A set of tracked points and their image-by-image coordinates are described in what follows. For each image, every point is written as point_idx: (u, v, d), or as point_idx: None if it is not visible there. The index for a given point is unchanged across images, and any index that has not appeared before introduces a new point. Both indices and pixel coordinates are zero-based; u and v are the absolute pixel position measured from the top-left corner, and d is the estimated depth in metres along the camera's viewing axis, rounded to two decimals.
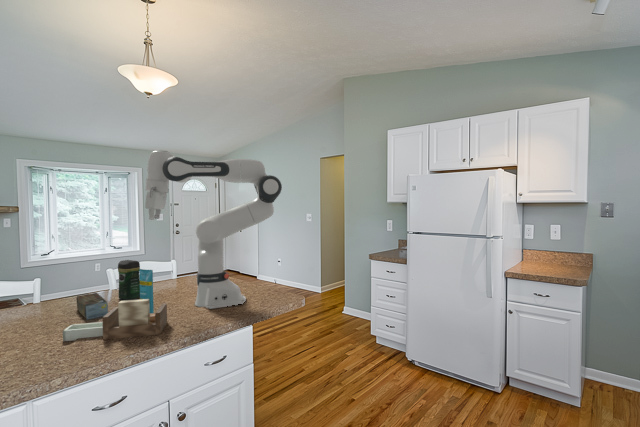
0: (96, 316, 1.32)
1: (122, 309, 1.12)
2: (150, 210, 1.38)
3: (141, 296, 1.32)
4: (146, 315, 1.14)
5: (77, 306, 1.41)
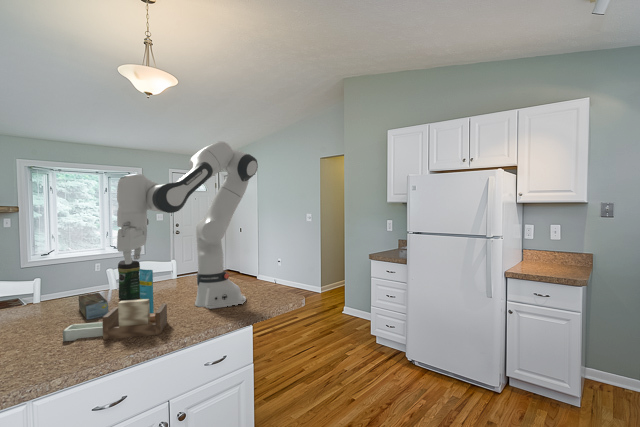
0: (96, 316, 1.32)
1: (122, 309, 1.12)
2: (125, 252, 1.07)
3: (141, 296, 1.32)
4: (146, 315, 1.14)
5: (79, 306, 1.42)
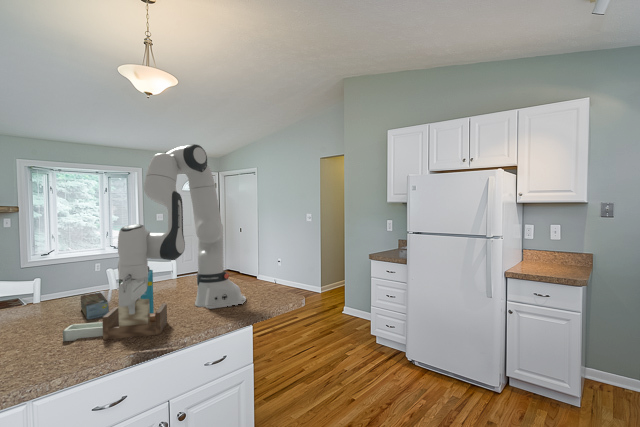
0: (97, 316, 1.32)
1: (122, 309, 1.12)
2: None
3: (141, 296, 1.32)
4: (146, 315, 1.14)
5: (81, 305, 1.42)
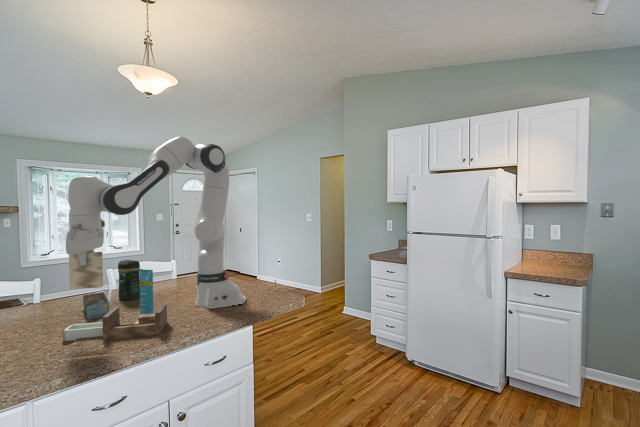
0: (97, 316, 1.32)
1: (73, 260, 1.11)
2: (79, 254, 1.09)
3: (141, 296, 1.32)
4: (98, 267, 1.13)
5: None
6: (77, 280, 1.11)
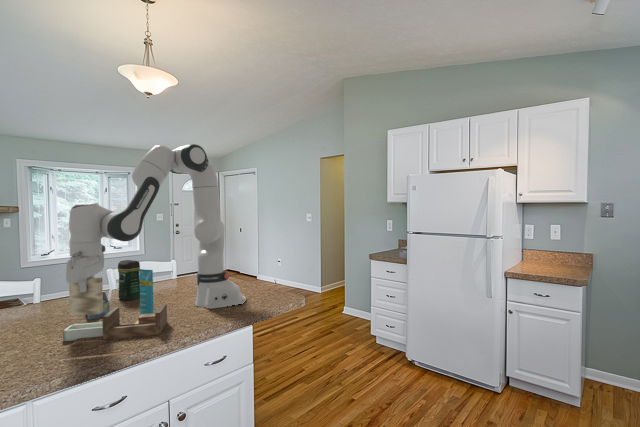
0: (97, 316, 1.32)
1: (73, 287, 1.11)
2: None
3: (141, 296, 1.32)
4: (98, 293, 1.13)
5: None
6: (77, 307, 1.12)
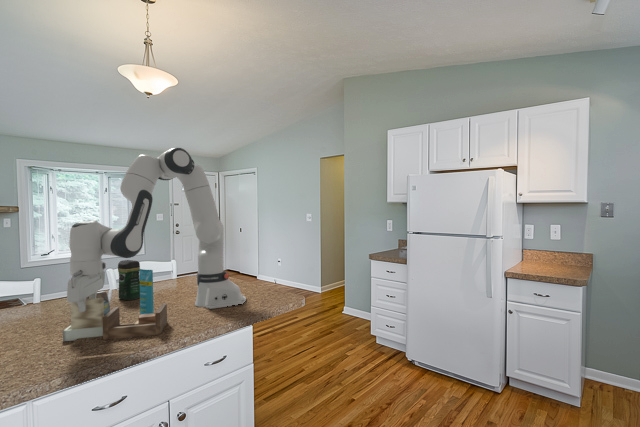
0: None
1: (74, 308, 1.11)
2: None
3: (141, 296, 1.32)
4: (100, 314, 1.13)
5: None
6: (78, 327, 1.12)
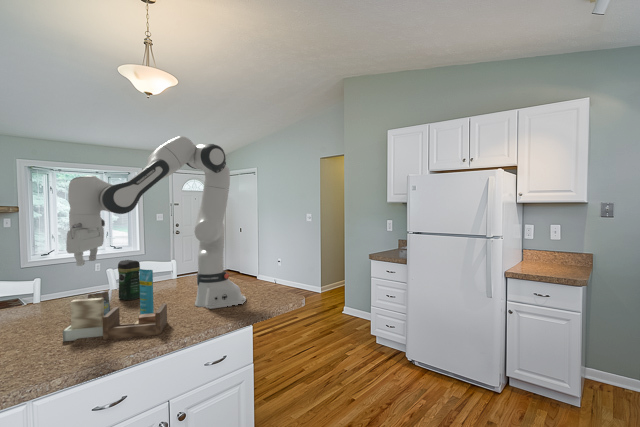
0: None
1: (74, 308, 1.11)
2: (76, 254, 1.07)
3: (141, 296, 1.32)
4: (100, 314, 1.13)
5: None
6: (78, 327, 1.12)
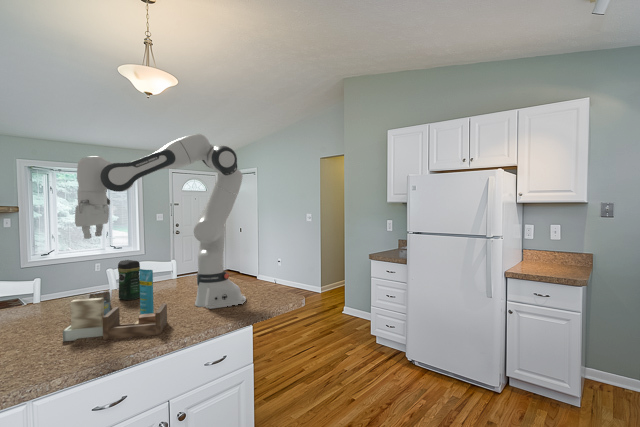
0: None
1: (74, 308, 1.11)
2: (84, 228, 1.16)
3: (141, 296, 1.32)
4: (100, 314, 1.13)
5: None
6: (78, 327, 1.12)
